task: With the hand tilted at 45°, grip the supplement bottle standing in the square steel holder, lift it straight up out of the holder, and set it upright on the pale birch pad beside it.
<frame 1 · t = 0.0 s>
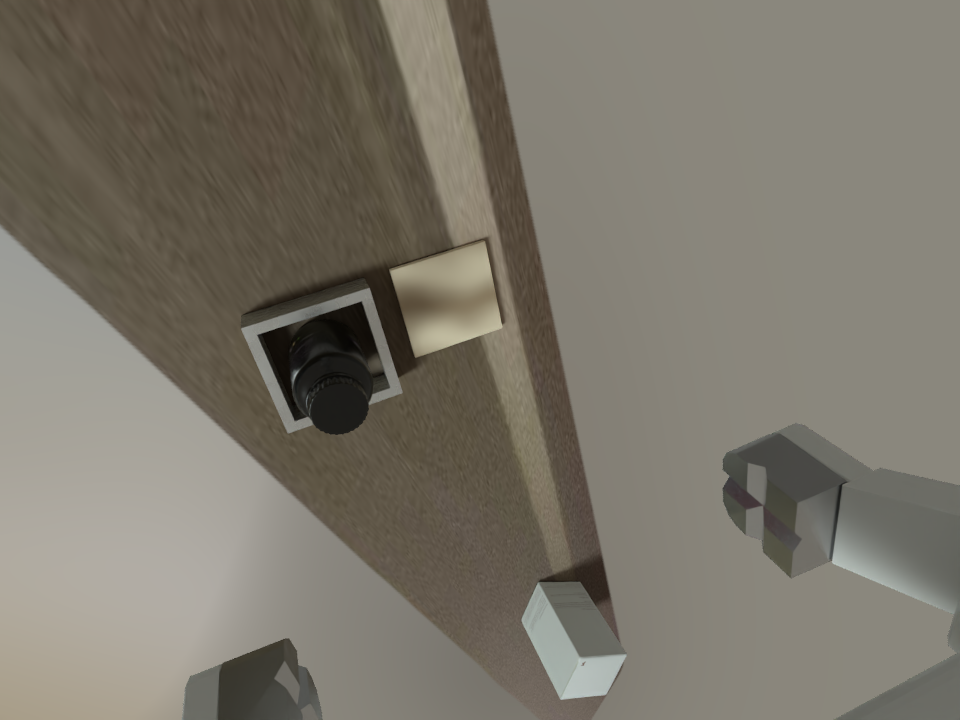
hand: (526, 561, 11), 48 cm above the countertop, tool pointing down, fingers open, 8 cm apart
steel holder: (323, 349, 59), on the countertop
supplement bottle: (323, 348, 59), resting in steel holder
birch pad: (447, 298, 61), on the countertop
supplement box: (550, 599, 87), on the countertop
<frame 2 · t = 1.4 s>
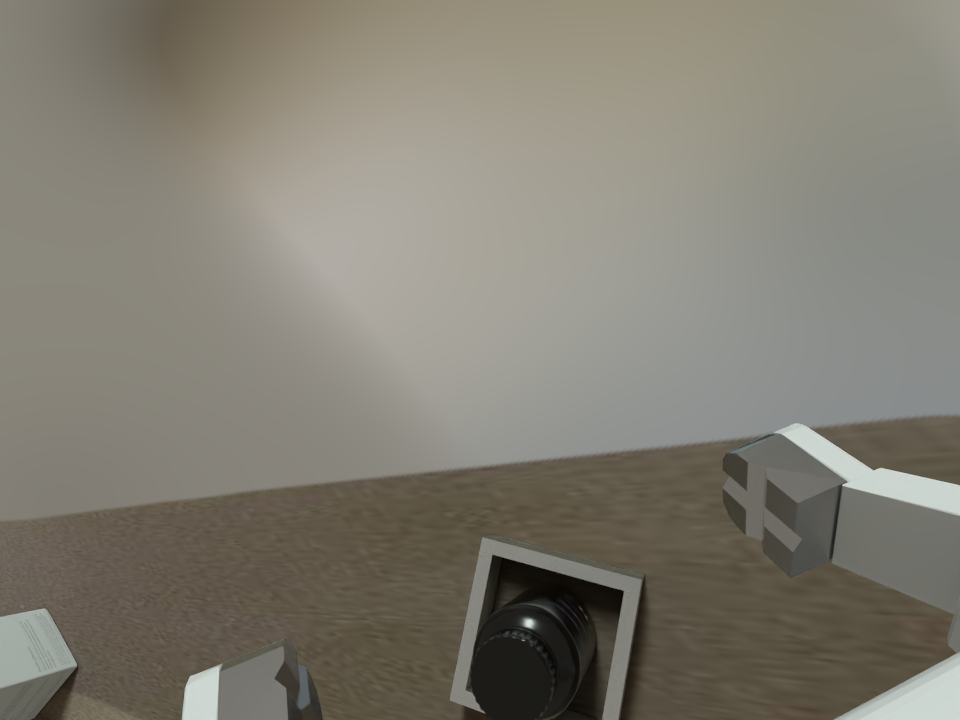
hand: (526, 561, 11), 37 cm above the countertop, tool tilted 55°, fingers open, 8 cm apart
steel holder: (551, 632, 45), on the countertop
supplement bottle: (552, 631, 45), resting in steel holder
supplement box: (42, 661, 60), on the countertop
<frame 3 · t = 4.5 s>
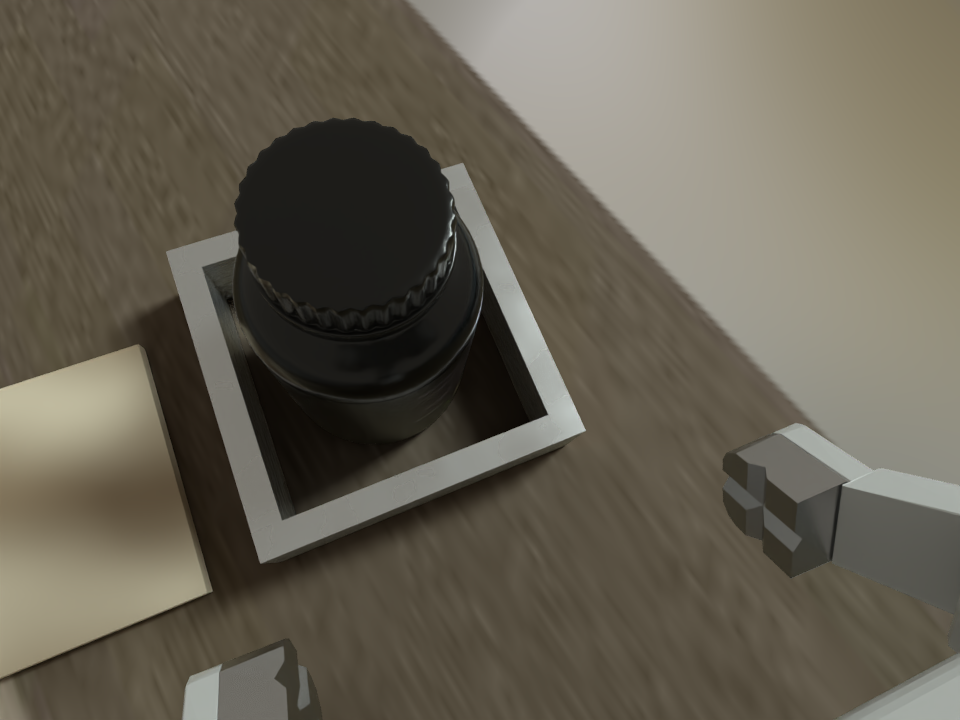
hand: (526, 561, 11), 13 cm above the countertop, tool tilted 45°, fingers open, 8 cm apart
steel holder: (378, 364, 25), on the countertop
supplement bottle: (379, 366, 25), resting in steel holder
birch pad: (39, 514, 22), on the countertop
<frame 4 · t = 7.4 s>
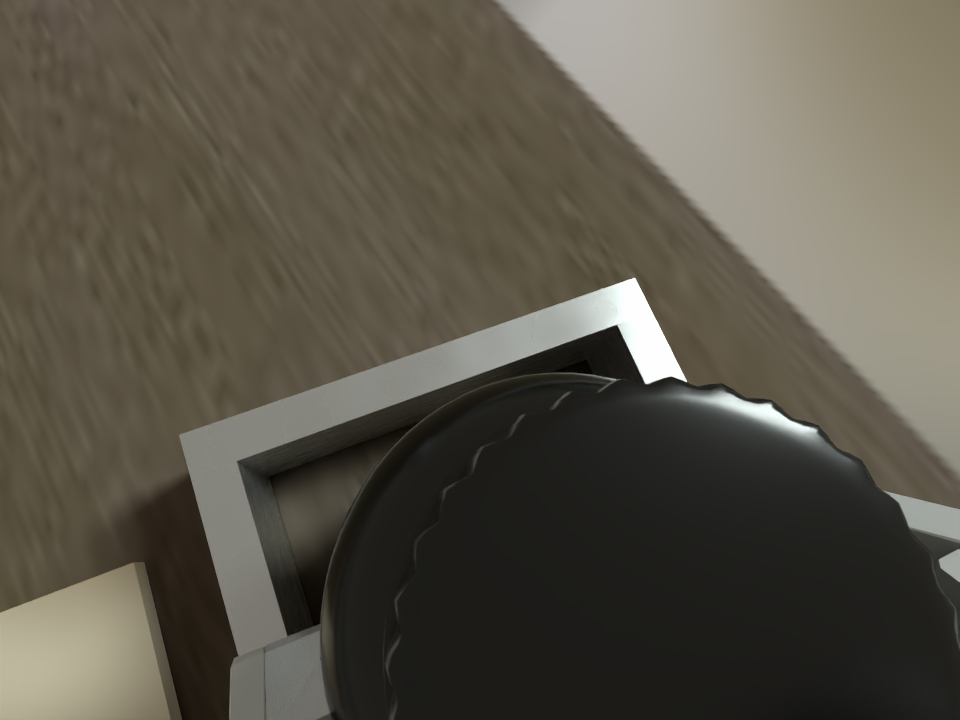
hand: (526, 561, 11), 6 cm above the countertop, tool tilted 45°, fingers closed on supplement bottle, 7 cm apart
steel holder: (499, 581, 16), on the countertop
supplement bottle: (498, 580, 16), resting in steel holder, touching gripper
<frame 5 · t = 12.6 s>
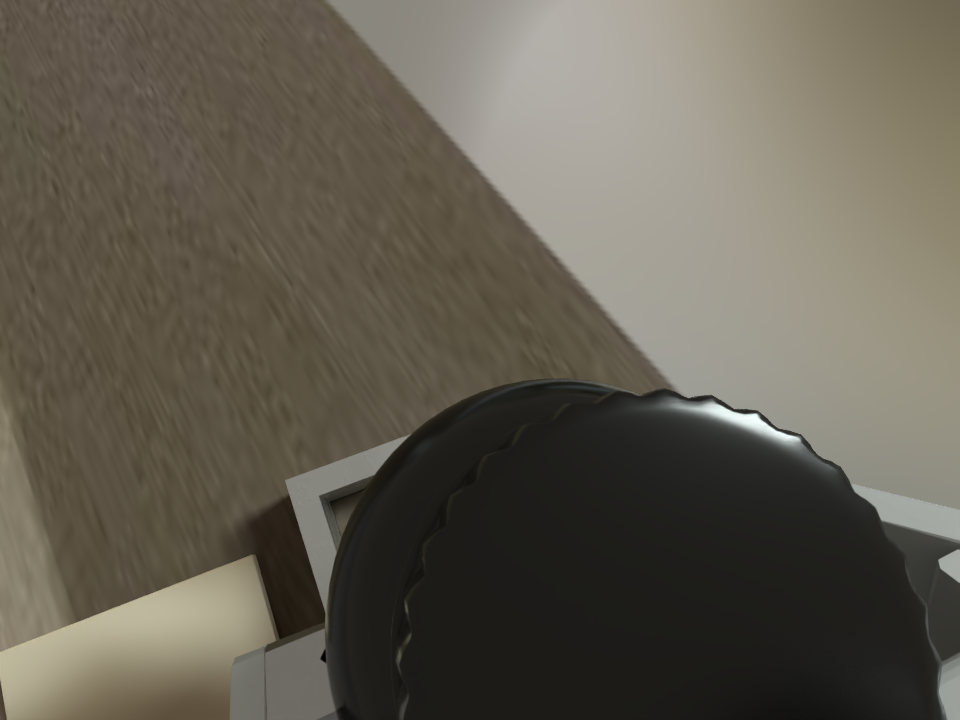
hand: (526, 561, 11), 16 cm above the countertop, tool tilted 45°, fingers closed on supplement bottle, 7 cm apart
steel holder: (473, 567, 26), on the countertop
supplement bottle: (492, 577, 17), point 10 cm above the countertop, touching gripper
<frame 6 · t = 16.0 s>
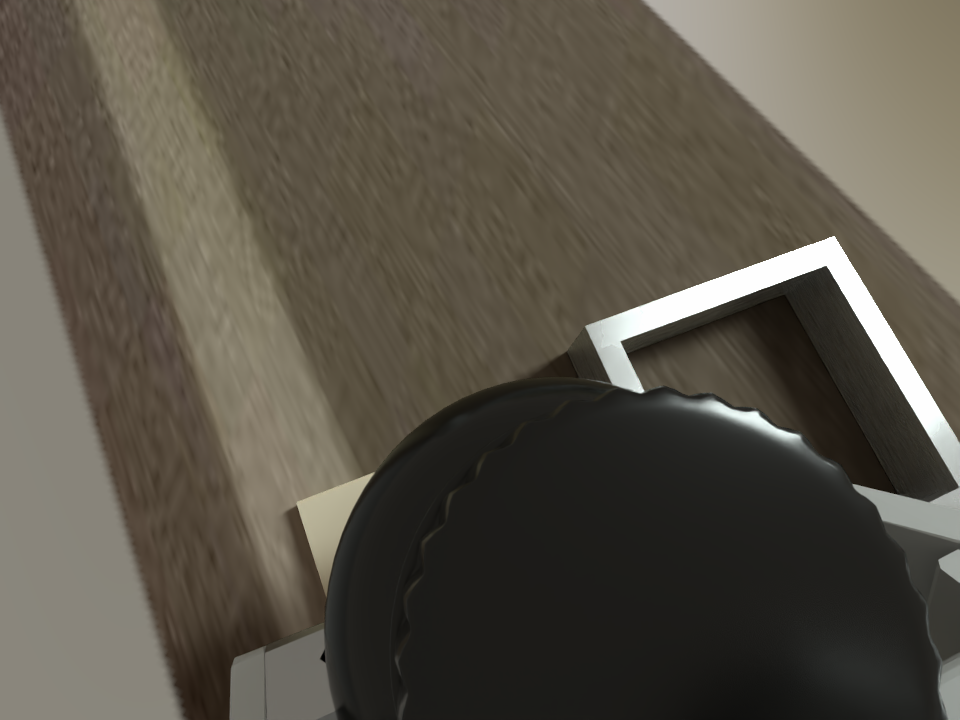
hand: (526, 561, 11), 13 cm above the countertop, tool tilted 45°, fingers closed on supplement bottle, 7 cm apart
steel holder: (746, 429, 25), on the countertop
supplement bottle: (492, 577, 17), point 6 cm above the countertop, touching gripper
birch pad: (465, 578, 23), on the countertop
when the fingers open (8 cm above the countertop, at t = 18.0 s): supplement bottle drops 1 cm, resting on birch pad.
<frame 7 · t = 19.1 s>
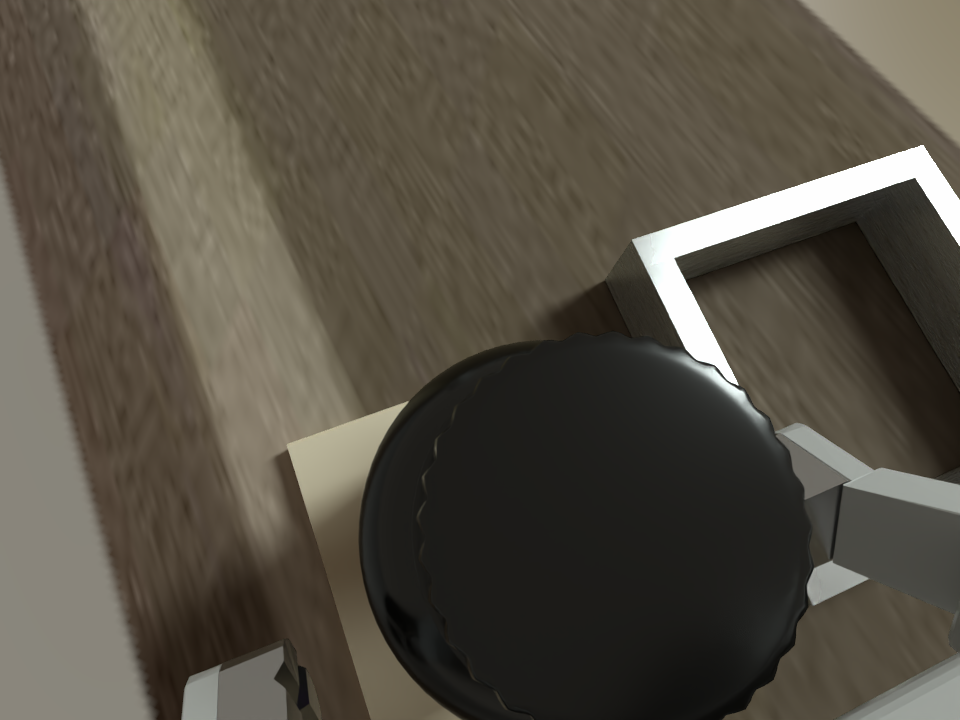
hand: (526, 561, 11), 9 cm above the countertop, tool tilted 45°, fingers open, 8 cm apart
steel holder: (815, 372, 22), on the countertop
supplement bottle: (498, 531, 19), resting on birch pad, touching gripper
birch pad: (486, 537, 19), on the countertop
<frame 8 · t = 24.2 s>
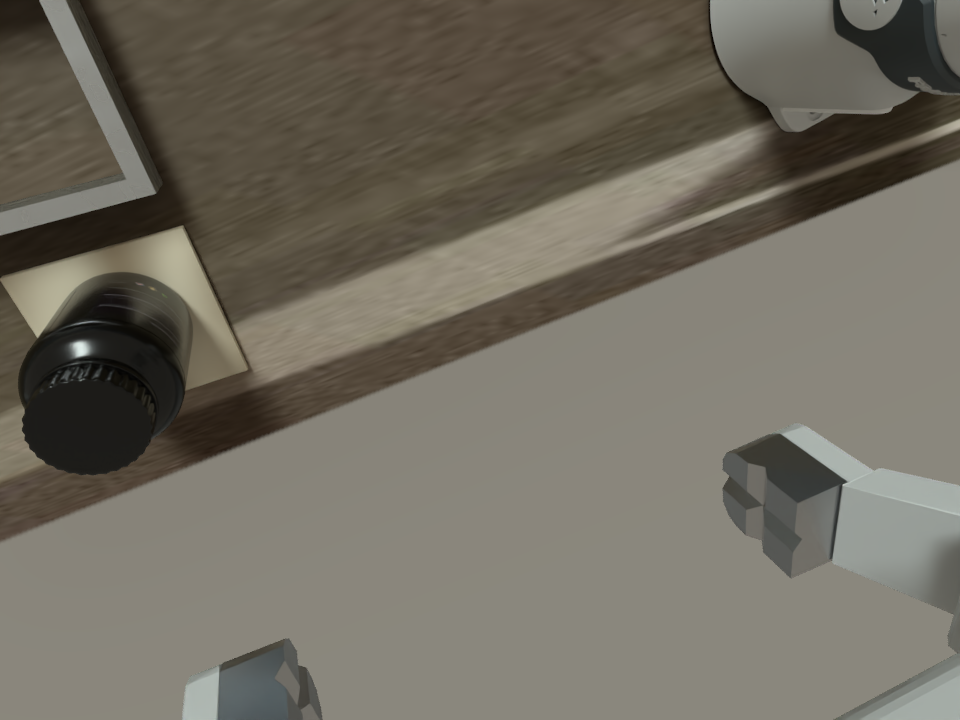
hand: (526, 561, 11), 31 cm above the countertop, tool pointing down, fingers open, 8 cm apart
supplement bottle: (132, 322, 36), resting on birch pad
birch pad: (136, 324, 37), on the countertop
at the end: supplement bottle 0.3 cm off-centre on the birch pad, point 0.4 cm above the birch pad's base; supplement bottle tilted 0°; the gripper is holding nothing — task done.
